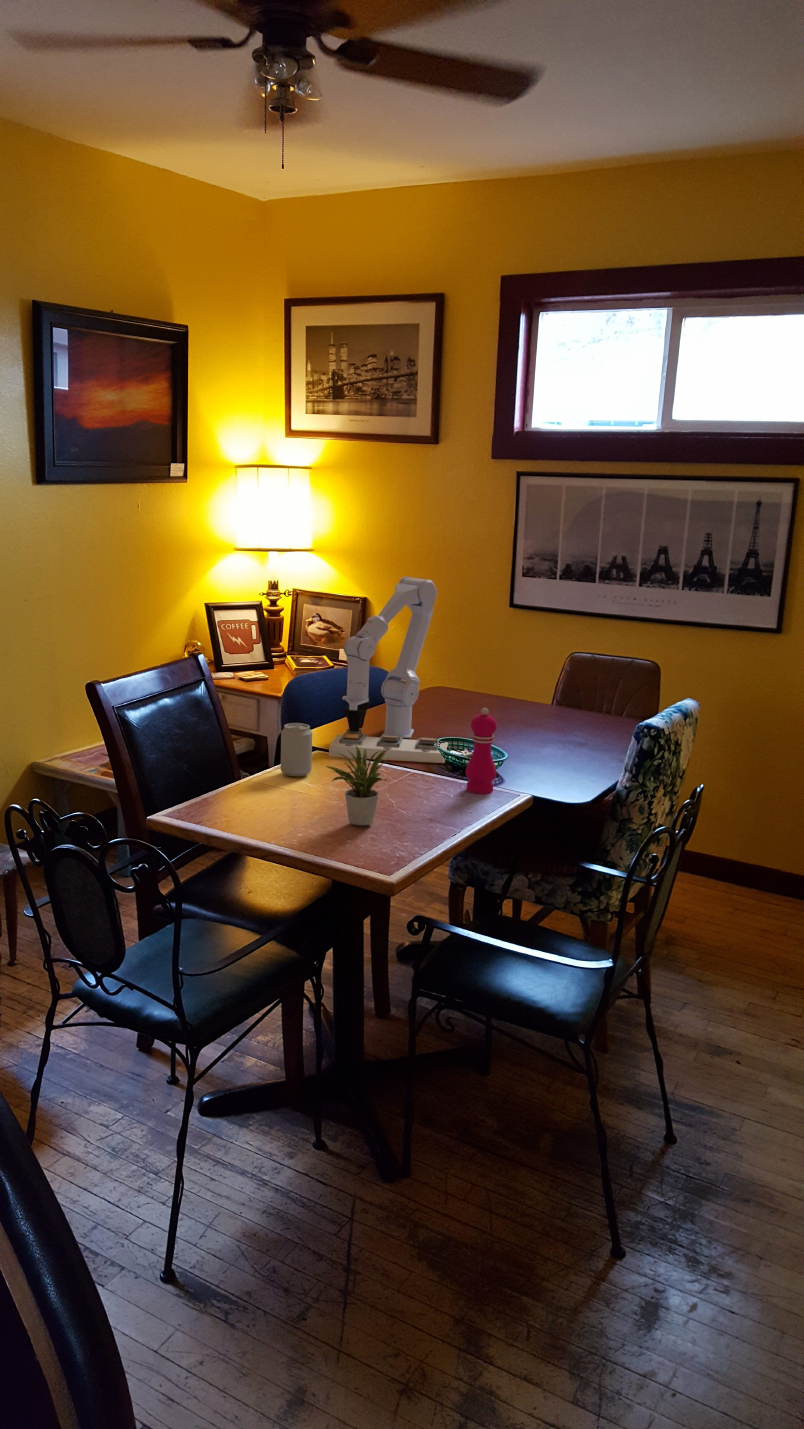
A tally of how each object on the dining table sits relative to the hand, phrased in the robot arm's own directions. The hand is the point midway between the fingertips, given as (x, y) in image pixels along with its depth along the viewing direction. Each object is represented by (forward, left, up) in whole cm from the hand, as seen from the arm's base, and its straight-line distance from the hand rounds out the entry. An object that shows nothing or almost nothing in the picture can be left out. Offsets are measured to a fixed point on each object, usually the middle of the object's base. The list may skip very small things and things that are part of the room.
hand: (356, 730), depth 276 cm
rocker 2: (+6, +10, 0) cm, 12 cm away
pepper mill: (+33, +35, -4) cm, 48 cm away
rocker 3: (+6, +20, 0) cm, 21 cm away
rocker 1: (+6, 0, 0) cm, 6 cm away
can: (+30, -10, -4) cm, 32 cm away
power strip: (+7, +10, -4) cm, 13 cm away
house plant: (+60, +11, -4) cm, 62 cm away
